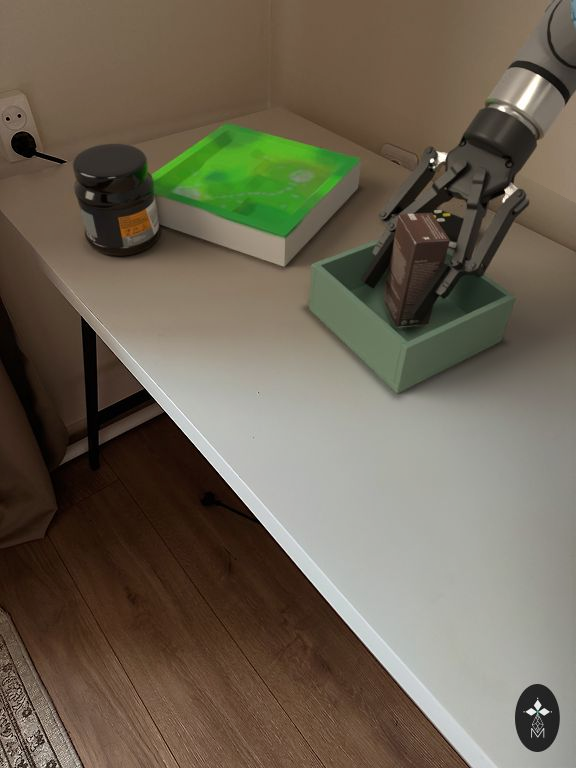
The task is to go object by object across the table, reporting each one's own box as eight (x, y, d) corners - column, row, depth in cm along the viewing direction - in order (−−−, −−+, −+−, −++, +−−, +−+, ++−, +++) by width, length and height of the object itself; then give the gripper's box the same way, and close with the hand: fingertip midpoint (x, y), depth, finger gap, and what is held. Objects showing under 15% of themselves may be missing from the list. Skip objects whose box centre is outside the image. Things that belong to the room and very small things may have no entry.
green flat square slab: (227, 151, 111) (226, 122, 108) (358, 188, 103) (361, 159, 100) (138, 217, 96) (133, 186, 92) (284, 266, 88) (285, 235, 84)
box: (431, 325, 77) (452, 240, 68) (395, 329, 76) (412, 243, 67) (415, 294, 81) (432, 210, 72) (381, 297, 80) (394, 213, 72)
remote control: (458, 252, 91) (462, 240, 90) (382, 221, 96) (384, 210, 95) (477, 233, 95) (480, 222, 93) (403, 205, 100) (405, 193, 99)
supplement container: (175, 241, 92) (165, 163, 83) (109, 268, 87) (92, 188, 78) (137, 210, 97) (124, 134, 88) (73, 234, 92) (53, 155, 84)
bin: (500, 341, 78) (516, 296, 73) (397, 394, 72) (406, 348, 67) (407, 269, 88) (415, 225, 83) (308, 308, 82) (311, 263, 77)
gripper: (595, 174, 68) (467, 351, 72) (449, 112, 78) (344, 270, 82) (587, 140, 62) (447, 336, 66) (429, 77, 72) (316, 250, 76)
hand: (390, 299), depth 74 cm, fingers closed on box, 7 cm apart
